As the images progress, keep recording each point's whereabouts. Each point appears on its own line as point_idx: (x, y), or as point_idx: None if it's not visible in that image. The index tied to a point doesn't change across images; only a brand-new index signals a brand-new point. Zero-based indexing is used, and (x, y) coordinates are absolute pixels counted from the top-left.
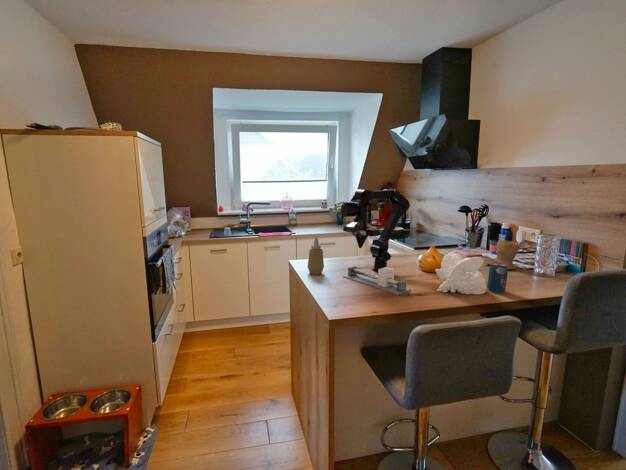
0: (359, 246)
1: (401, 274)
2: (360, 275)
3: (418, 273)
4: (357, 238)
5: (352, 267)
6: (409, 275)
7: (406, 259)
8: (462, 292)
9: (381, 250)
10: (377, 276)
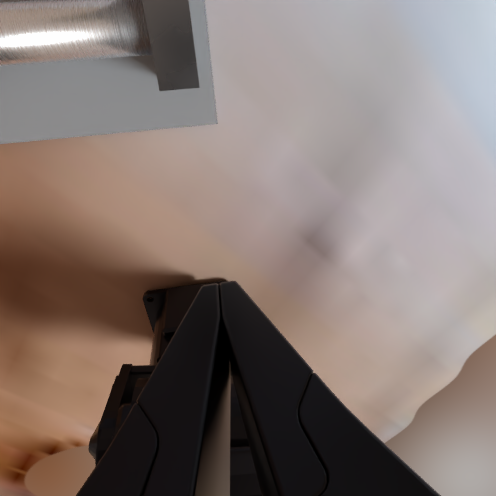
0: (221, 298)
1: (64, 356)
2: (123, 91)
3: (50, 419)
4: (311, 477)
5: (152, 5)
6: (29, 375)
7: None
8: None
9: (102, 450)
10: None
